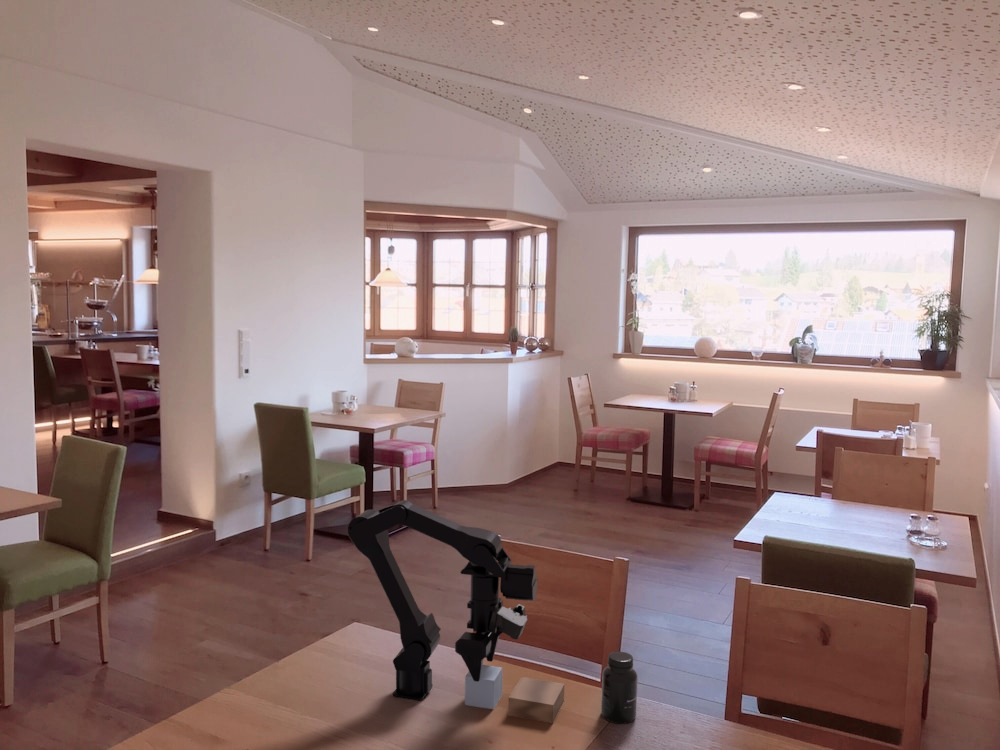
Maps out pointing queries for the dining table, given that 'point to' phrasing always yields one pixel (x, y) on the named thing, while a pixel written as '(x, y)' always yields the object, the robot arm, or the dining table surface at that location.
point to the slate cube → (484, 688)
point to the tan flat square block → (536, 699)
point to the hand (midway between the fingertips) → (483, 670)
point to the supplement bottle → (619, 688)
